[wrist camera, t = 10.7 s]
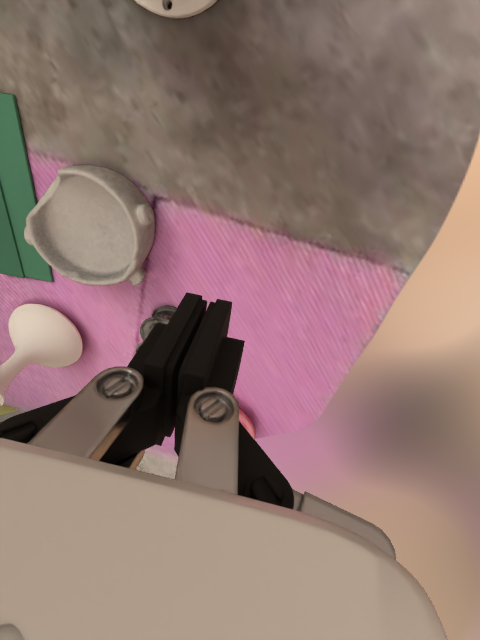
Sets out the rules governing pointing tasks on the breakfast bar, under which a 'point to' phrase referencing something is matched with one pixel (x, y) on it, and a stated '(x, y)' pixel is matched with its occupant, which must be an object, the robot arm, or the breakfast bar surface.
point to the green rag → (16, 199)
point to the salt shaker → (156, 321)
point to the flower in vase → (38, 343)
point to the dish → (92, 226)
